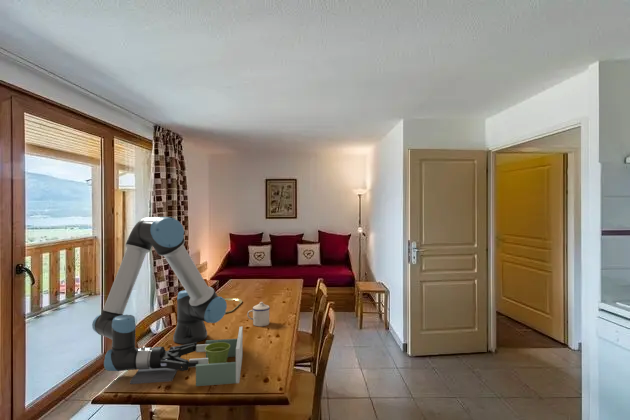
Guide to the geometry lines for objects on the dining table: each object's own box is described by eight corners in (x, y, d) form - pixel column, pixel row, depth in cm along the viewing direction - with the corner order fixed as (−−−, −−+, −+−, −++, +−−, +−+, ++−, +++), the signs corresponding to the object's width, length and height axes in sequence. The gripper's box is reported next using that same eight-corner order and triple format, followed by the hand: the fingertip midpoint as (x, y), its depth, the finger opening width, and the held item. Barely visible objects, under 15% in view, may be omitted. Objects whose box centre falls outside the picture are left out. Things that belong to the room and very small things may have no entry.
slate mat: (129, 384, 123) (129, 381, 123) (142, 366, 137) (142, 364, 137) (172, 381, 125) (172, 378, 125) (180, 364, 139) (180, 361, 139)
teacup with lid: (270, 321, 193) (270, 300, 193) (268, 326, 184) (268, 304, 184) (249, 321, 194) (249, 300, 194) (245, 326, 185) (245, 304, 185)
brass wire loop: (245, 300, 240) (245, 298, 240) (229, 316, 205) (229, 313, 205) (218, 300, 241) (218, 297, 241) (198, 315, 206) (198, 312, 206)
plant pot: (223, 376, 129) (223, 352, 129) (200, 373, 131) (200, 350, 131) (234, 365, 138) (234, 343, 138) (212, 363, 140) (212, 341, 140)
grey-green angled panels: (195, 386, 122) (195, 351, 122) (206, 357, 146) (206, 328, 146) (239, 383, 124) (239, 348, 124) (242, 355, 148) (242, 326, 148)
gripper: (140, 361, 119) (205, 358, 122) (161, 335, 143) (215, 333, 147) (140, 384, 119) (205, 379, 122) (161, 354, 143) (215, 351, 147)
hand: (210, 354), depth 134 cm, fingers open, 13 cm apart
